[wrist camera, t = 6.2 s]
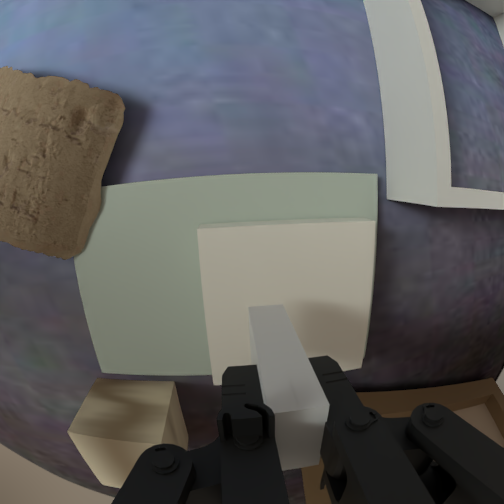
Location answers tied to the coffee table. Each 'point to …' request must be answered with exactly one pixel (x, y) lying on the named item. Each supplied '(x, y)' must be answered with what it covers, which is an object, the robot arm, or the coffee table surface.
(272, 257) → the tile
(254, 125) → the coffee table surface
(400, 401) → the photo frame
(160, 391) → the block
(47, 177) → the clay tablet
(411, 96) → the white open rectangular frame
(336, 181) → the mat
